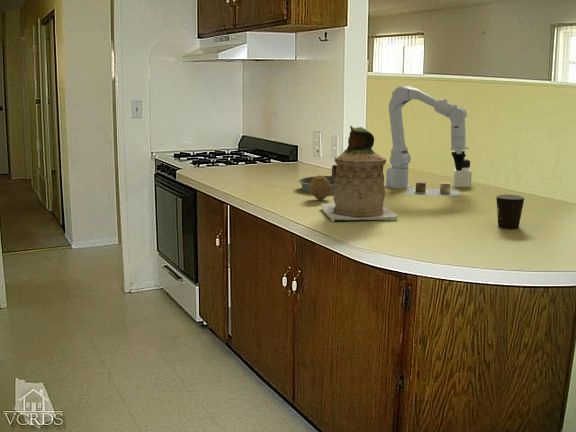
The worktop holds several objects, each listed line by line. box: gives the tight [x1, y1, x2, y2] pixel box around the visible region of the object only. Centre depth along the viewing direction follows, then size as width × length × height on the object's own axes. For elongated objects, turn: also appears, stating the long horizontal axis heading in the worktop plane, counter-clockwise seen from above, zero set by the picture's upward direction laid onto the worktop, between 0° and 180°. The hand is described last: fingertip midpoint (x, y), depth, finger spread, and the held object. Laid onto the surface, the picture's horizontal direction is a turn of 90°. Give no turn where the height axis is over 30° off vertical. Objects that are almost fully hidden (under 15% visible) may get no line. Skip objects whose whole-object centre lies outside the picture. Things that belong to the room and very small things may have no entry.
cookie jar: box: [321, 125, 399, 223], centre depth 229 cm, size 25×25×32 cm
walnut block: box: [415, 181, 427, 193], centre depth 272 cm, size 4×4×4 cm
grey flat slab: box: [405, 187, 461, 197], centre depth 272 cm, size 22×16×1 cm
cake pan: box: [298, 175, 334, 195], centre depth 283 cm, size 25×25×4 cm
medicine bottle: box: [453, 158, 472, 188], centre depth 286 cm, size 7×7×12 cm
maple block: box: [439, 181, 451, 193], centre depth 270 cm, size 4×4×4 cm
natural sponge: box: [309, 174, 332, 201], centre depth 258 cm, size 9×9×10 cm
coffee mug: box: [495, 193, 525, 230], centre depth 208 cm, size 12×9×10 cm
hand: (458, 169), depth 271 cm, fingers open, 7 cm apart
